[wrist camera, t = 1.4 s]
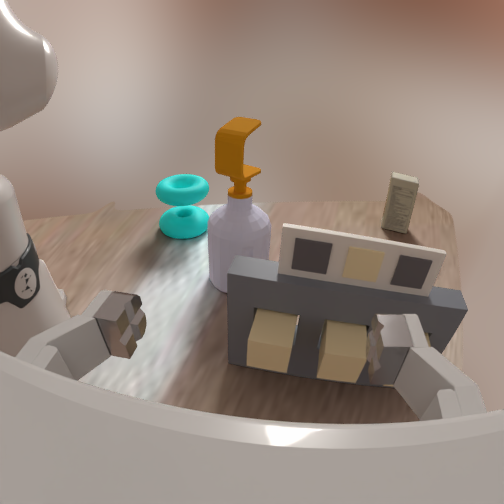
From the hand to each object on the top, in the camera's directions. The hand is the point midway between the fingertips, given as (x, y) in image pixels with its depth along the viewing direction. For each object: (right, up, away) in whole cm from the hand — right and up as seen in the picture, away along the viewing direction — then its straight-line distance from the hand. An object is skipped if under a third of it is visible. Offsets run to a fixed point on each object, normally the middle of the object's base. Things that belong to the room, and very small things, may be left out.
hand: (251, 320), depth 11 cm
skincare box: (+32, +8, +58) cm, 66 cm away
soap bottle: (-2, -2, +41) cm, 41 cm away
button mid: (+9, -8, +21) cm, 25 cm away
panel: (+9, -12, +26) cm, 30 cm away
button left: (+2, -7, +23) cm, 24 cm away
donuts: (-13, +7, +53) cm, 55 cm away
